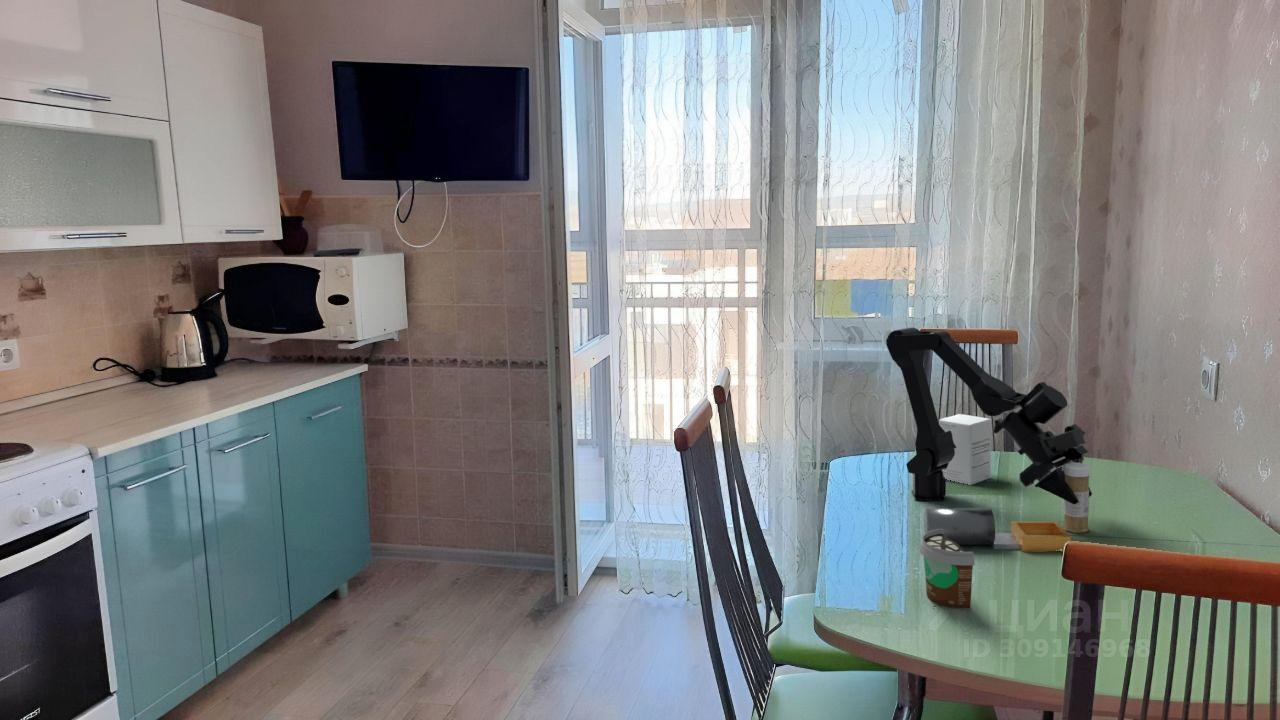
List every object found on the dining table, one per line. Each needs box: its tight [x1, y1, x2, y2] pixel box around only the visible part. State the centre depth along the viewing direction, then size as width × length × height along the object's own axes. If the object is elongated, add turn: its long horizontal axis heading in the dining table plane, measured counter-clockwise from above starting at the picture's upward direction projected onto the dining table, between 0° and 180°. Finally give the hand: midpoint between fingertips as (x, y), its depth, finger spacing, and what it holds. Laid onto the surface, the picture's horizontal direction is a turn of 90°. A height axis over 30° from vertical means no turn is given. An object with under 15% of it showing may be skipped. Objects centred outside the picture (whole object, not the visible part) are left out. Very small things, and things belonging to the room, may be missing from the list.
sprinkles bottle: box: [1063, 462, 1091, 534], centre depth 173 cm, size 5×5×13 cm
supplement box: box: [938, 413, 992, 486], centre depth 211 cm, size 9×9×15 cm
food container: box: [918, 529, 975, 610], centre depth 145 cm, size 12×6×10 cm, turn 5°
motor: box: [923, 507, 1072, 553], centre depth 168 cm, size 25×9×7 cm, turn 81°
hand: (1083, 499), depth 172 cm, fingers open, 6 cm apart
